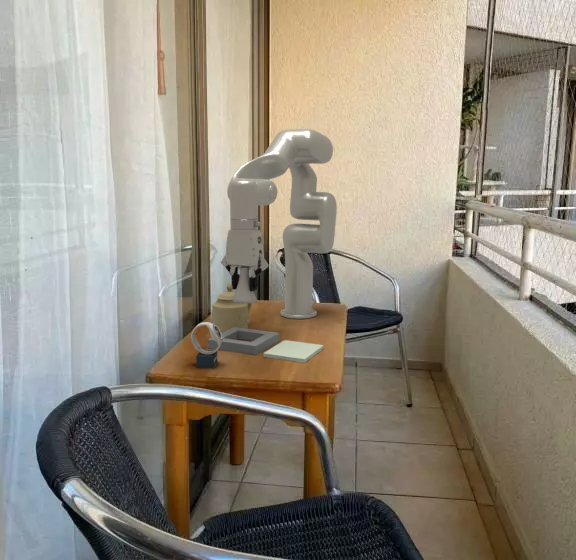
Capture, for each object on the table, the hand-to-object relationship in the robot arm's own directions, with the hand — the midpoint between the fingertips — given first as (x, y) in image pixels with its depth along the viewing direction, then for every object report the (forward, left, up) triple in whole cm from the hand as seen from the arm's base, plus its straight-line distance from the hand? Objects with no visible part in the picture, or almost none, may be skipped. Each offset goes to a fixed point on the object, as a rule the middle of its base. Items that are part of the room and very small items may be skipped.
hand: (244, 288), depth 167 cm
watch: (+20, 0, -16) cm, 26 cm away
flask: (0, 0, -4) cm, 4 cm away
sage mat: (+1, +16, -16) cm, 23 cm away
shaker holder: (0, 0, -16) cm, 16 cm away
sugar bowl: (-14, -12, -16) cm, 24 cm away
